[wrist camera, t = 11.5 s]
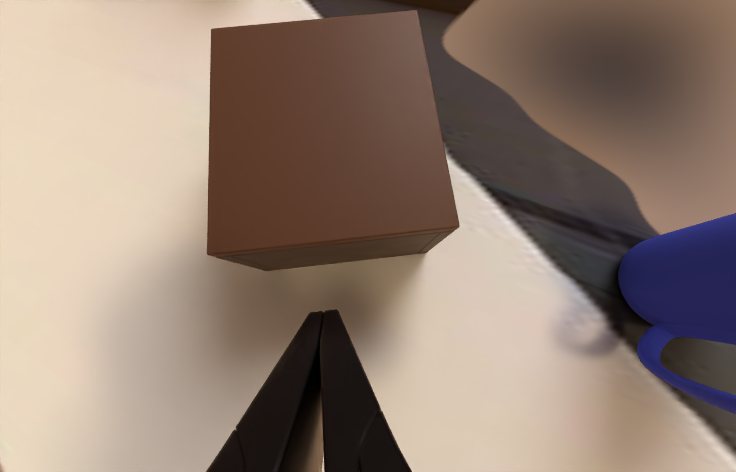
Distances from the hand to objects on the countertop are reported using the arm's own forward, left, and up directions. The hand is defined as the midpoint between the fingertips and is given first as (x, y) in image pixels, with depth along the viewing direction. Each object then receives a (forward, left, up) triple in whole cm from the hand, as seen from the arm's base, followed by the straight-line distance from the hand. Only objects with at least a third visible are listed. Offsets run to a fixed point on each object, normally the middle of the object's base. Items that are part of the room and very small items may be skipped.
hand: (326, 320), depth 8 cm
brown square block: (+10, +4, -5) cm, 12 cm away
